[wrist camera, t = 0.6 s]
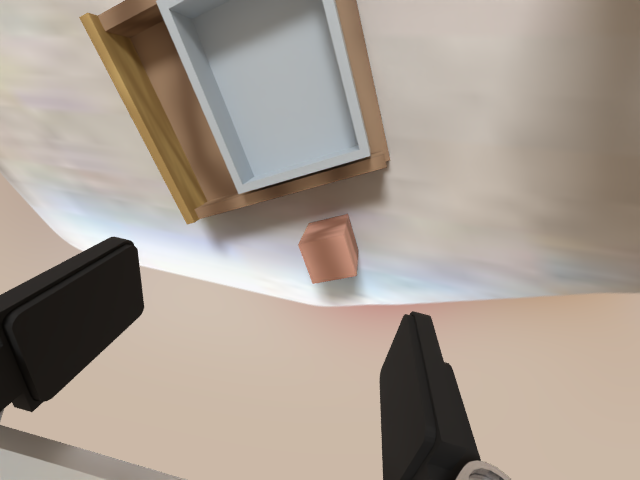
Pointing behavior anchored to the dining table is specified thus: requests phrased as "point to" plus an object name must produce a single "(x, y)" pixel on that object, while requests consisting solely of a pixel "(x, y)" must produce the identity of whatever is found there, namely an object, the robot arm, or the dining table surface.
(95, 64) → the dining table surface
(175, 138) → the bay
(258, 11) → the grey tray
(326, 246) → the block
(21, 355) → the robot arm
